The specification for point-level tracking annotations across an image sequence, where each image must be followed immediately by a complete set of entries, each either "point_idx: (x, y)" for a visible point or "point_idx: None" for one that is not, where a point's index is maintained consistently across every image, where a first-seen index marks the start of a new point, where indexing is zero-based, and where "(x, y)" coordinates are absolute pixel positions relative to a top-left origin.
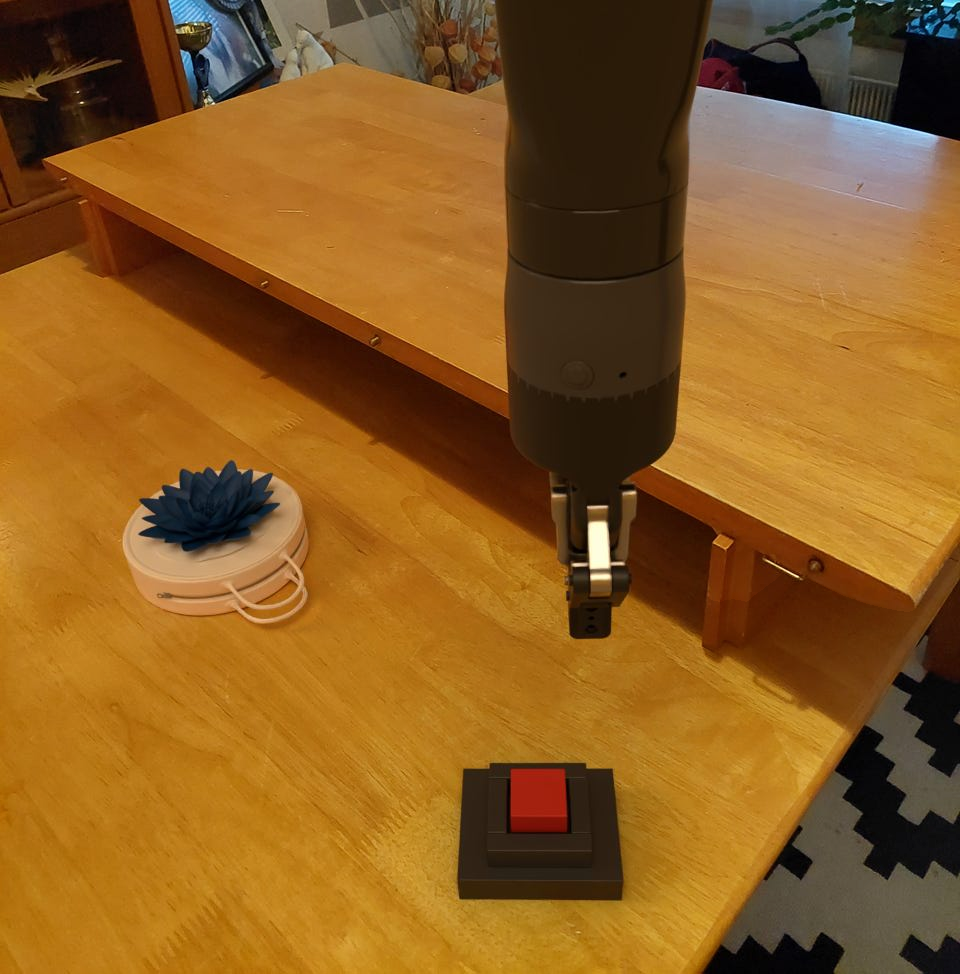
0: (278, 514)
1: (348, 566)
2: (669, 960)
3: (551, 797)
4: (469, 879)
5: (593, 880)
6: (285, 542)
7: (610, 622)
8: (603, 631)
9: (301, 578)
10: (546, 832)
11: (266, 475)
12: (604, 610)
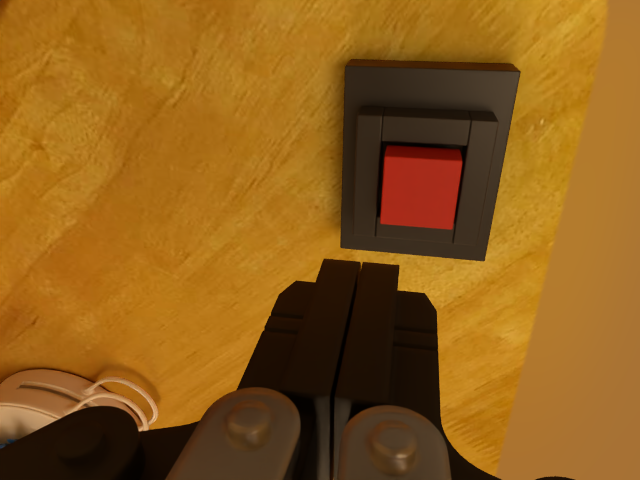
0: (18, 423)
1: (59, 333)
2: (605, 9)
3: (430, 178)
4: (485, 249)
5: (511, 111)
6: (56, 417)
7: (396, 292)
8: (436, 320)
9: (99, 396)
10: None
11: None
12: (437, 384)
